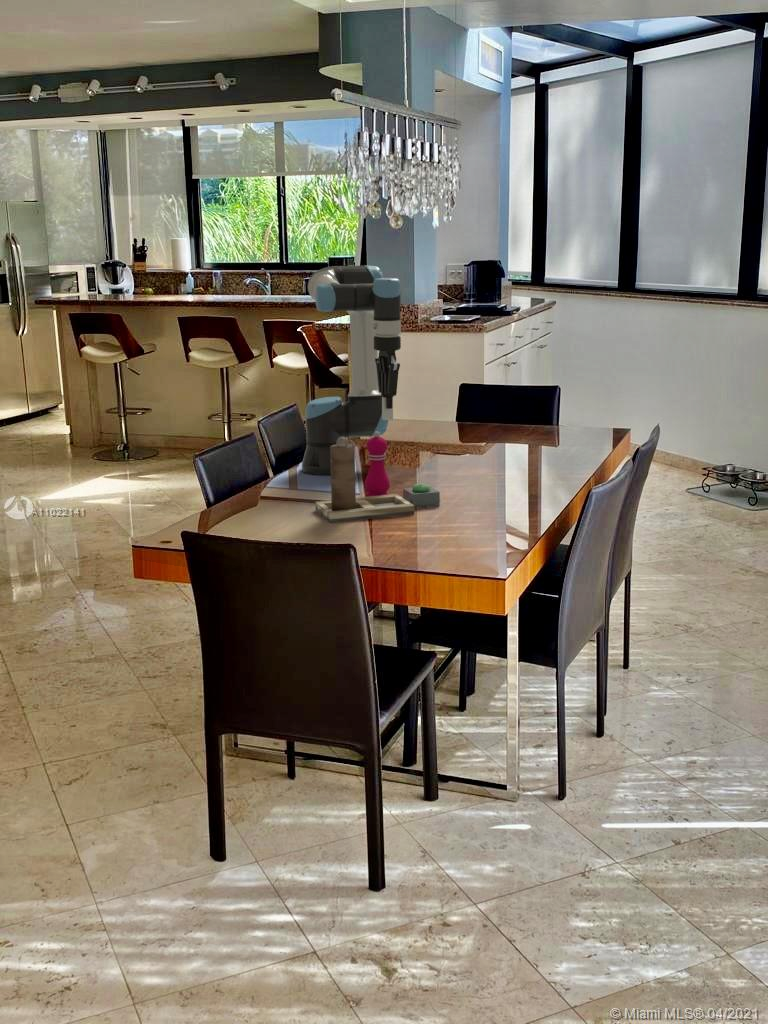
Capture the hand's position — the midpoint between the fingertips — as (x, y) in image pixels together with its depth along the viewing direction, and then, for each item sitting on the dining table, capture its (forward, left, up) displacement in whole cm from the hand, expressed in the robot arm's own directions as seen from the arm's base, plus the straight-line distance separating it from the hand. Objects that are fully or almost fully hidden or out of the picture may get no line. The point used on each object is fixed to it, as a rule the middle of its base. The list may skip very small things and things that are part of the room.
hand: (387, 419), depth 300 cm
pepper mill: (-2, -3, -24) cm, 24 cm away
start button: (+7, +7, -22) cm, 25 cm away
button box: (+7, +7, -24) cm, 26 cm away
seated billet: (+10, -17, -24) cm, 31 cm away
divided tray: (+10, -11, -24) cm, 28 cm away
